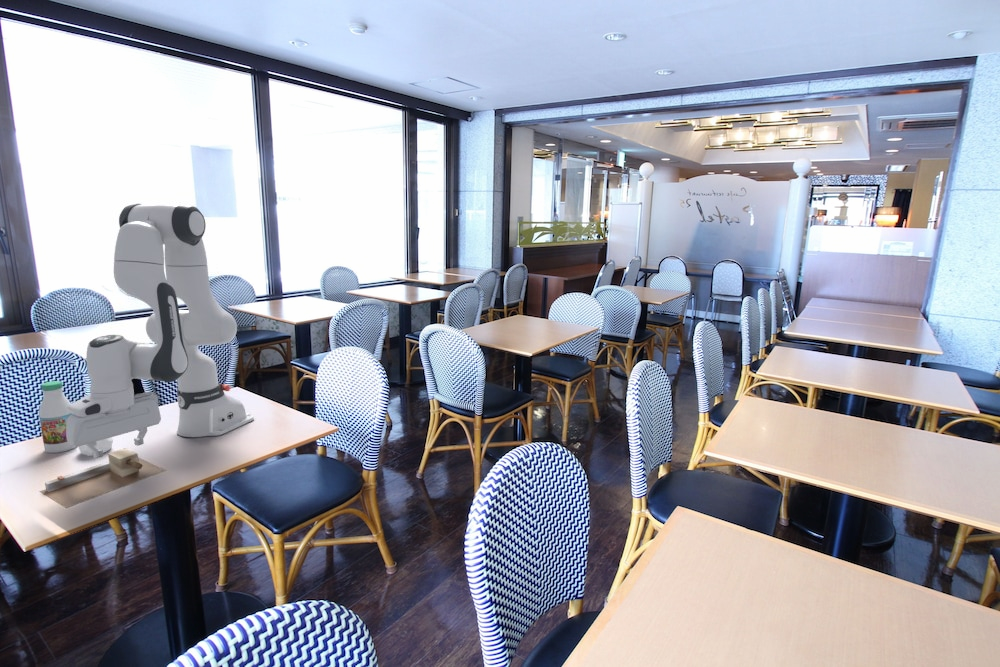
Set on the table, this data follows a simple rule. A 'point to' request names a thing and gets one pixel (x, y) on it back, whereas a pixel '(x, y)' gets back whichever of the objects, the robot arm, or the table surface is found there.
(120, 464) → the wooden mallet
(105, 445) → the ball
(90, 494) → the walnut board
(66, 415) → the milk bottle
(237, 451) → the table surface
